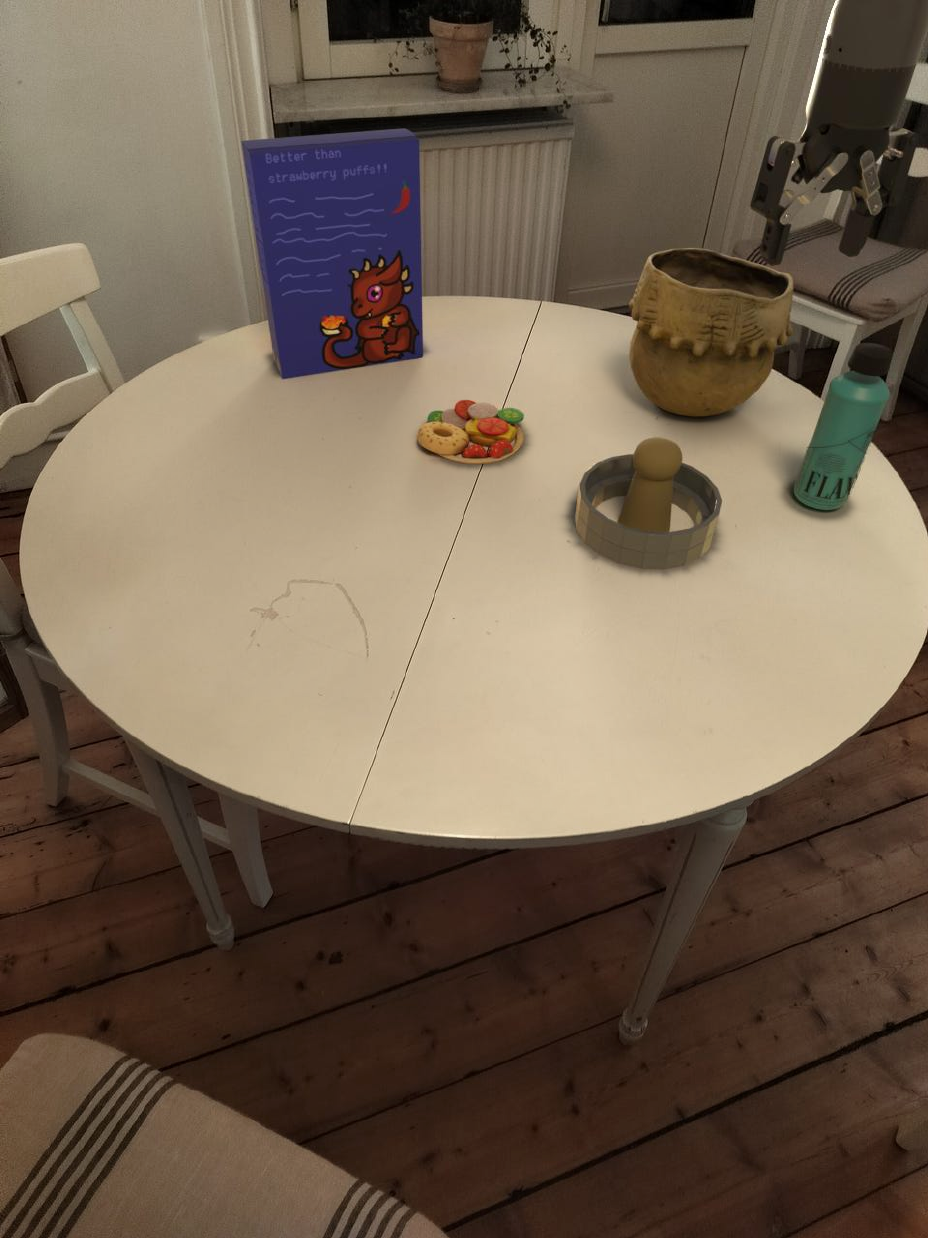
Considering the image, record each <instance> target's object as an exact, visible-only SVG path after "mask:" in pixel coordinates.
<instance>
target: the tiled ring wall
mask: <svg viewBox="0 0 928 1238" xmlns="http://www.w3.org/2000/svg"><path fill="white" fill-rule="evenodd" d="M633 455H634V453H629V454H622V455H621V454H620V455H615V456H611V457H609V458H605V459H603V460H601V461H598V462H595V463H594V464H593V465H592V466H590V467H589V468H588V469H587V470H586V471H585V472H584V473H583V475H582V478H581V479H580V482H579V484H578V492H577V500H576V501H577V502H576V507H575V514H574V522H575V530H576V533H578V536H579V537H580V538H581V541H582V542H583V544H585V545H586V546H587V547H589V548H590V549H591V550H592V551H594V552H595V553H596V554H597V555H599V556H600V557H603V558H605V559H606V560H609V561H612V562H614V563H616V564H618V565H622V566H627V567H629V568H630V567H631V568H634V569H635V568H636V569H640V570H660V571H662V570H670V569H675V568H681V567H684V566H687V565H689V564H691V563H693V562H695V561H697V560H699V559H701V558H702V557H703V555H705V553H706V552H707V551H708V550H709V549H710V547H711V545H712V541H713V538H714V534H715V531H716V528H717V524H718V520H719V516H720V513H721V508H722V504H723V499H722V497H721V493H720V490H719V487H718V486H717V485H716V484H715V483H714V482H713V481H712V480H711V478H709V476H707V475H706V474H704V473H703V472H701V470H698V468H695V467H694V466H692V465H690V464H687V463H684V462H682V464H681V467H680V469H679V471H678V473H677V474H675V475H674V479H673V493H672V505H675V506H676V507H678V508H679V509H681V510H682V511H684V512H685V513H686V514H687V516H689V518H691V520H692V521H693V523H694V526H692V527H689V528H685V529H679V530H673V531H669V532H653V531H644V530H640V529H635V528H631V527H627V526H624V525H622V524H620V523H618V521H615V520H613V519H611V518H608V517H607V516H606V515H605V514H603V513H601V512H600V510H598V509H597V507H598V506H600V505H601V504H602V503H604V502H607V501H609V500H611V499H614V498H619V497H625V496H626V497H627V494H628V491H629V488H630V485H631V482H632V480H633V477H634V474H635V471H636V469H635V468H634V463H633Z"/></svg>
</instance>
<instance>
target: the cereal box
mask: <svg viewBox="0 0 928 1238" xmlns="http://www.w3.org/2000/svg"><path fill="white" fill-rule="evenodd" d="M240 142H241V148H242V154H243V155H242V156H243V161H244V168H245V169H244V170H245V176H246V181H247V189H248V195H249V201H250V202H249V203H250V208H251V217H252V222H253V229H254V237H255V242H256V248H257V255H258V262H259V270H260V276H261V282H262V288H263V296H264V302H265V310H266V316H267V317H266V318H267V322H268V329H269V336H270V343H271V349H272V356H273V362H274V364H275V366H276V368H277V371H278V373H279V375H280V378H281V379H282V380H285V379H293V378H299V377H305V376H312V375H317V374H323V373H324V374H325V373H330V372H338V371H343V370H350V369H356V368H363V367H369V366H377V365H382V364H389V363H394V362H402V361H408V360H414V359H415V360H416V359H421V358H423V357H424V330H423V329H424V325H423V321H424V320H423V282H422V281H423V275H422V273H423V272H422V269H423V268H422V226H421V225H422V215H421V214H422V213H421V210H422V209H421V164H420V163H421V161H420V157H421V156H420V138H418V137H417V135H416V134H415V133H414V132H412V131H411V130H409V129H407V128H406V127H405V128H393V129H392V128H391V129H390V128H389V129H377V130H366V131H365V130H364V131H353V132H352V131H351V132H339V133H326V134H312V135H299V136H286V137H274V138H273V137H272V138H260V139H247V140H241V141H240Z"/></svg>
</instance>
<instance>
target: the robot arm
mask: <svg viewBox="0 0 928 1238" xmlns="http://www.w3.org/2000/svg"><path fill="white" fill-rule="evenodd" d="M927 33H928V0H835V1H834V4H833V6H832V9H831V12H830V14H829V18H828V21H827V25H826V28H825V32H824V37H823V40H822V43H821V44H822V45H821V48H820V53H819V57H818V61H817V64H816V68H815V72H814V75H813V80H812V83H811V88H810V91H809V95H808V99H807V103H806V106H805V107H806V108H805V116H806V123H805V124H806V125H805V128H804V130H803V132H802V134H801V135H800V137H799V138H798V139H784V138H783V137H780V136H777V135H773V136H771V137H770V138H769V140H768V141H767V142H766V143H767V144H766V147H765V150H764V154H763V158H762V161H761V165H760V167H759V172H758V175H757V179H756V183H755V186H754V190H753V193H752V197H751V200H750V205H749V207H750V209H751V210H752V211H753V212H755V213H757V214H759V215H760V216H762V217H764V218H766V219H765V220H766V221H765V225H764V229H763V230H764V231H763V234H762V239H761V243H760V246H759V254H760V256H761V259H762V261H763V262H765V263H766V264H768V265H769V266H770V267H774V266H780V265H781V264H782V261H783V258H784V254H785V251H786V247H787V243H788V239H789V235H790V232H791V228H792V224H791V221H792V220H793V219H794V218H795V216H796V215H797V214H798V213H799V212H800V211H801V210H802V208H804V206H806V205H809V204H810V203H812V202H813V201H814V199H815V198H817V196H818V195H819V194H829V193H832V192H834V191H837V190H839V191H842V192H849V193H850V196H851V199H852V203H853V205H854V207H855V208H853V209H849V213H848V215H847V219H846V223H845V226H844V228H843V232H842V235H841V239H840V242H839V245H838V251H839V252H840V253H841V254H843V255H845V256H846V257H848V258H853V257H854V258H855V257H858V256H860V253H861V250H863V248H864V247H865V245H866V243H867V240H868V237H869V234H870V232H871V228H872V225H873V222H874V219H875V216H876V215H878V214H879V213H881V211H882V209H884V208H886V207H888V206H890V207H895V206H897V205H898V204H899V203H900V201H901V199H902V196H903V193H904V189H905V187H906V183H907V180H908V176H909V172H910V169H911V166H912V163H913V159H914V155H915V153H916V149H917V147H918V143H919V139H920V138H919V134H918V133H916V132H913V131H911V130H908V129H906V128H903V127H900V126H894V127H893V128H892V129H891V128H890V127H892V126H893V125H895V124H896V123H897V122H899V121H898V120H899V119H900V116H901V113H902V110H903V106H904V104H905V101H906V98H907V95H908V91H909V88H910V86H911V82H912V79H913V76H914V74H915V70H916V67H917V65H918V64H917V63H918V60H919V58H920V54H921V51H922V49H923V45H924V42H925V39H926V36H927ZM890 129H891V130H890ZM880 158H881V161H880V163H879V164H880V165H879V168H878V172H877V169H876V163H877V162H878V161H879V159H880ZM796 159H797V164H796ZM791 168H793V169H792V170H791ZM790 170H791V171H790ZM802 181H804V183H805V185H800V183H801V182H802Z"/></svg>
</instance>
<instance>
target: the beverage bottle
mask: <svg viewBox="0 0 928 1238" xmlns="http://www.w3.org/2000/svg"><path fill="white" fill-rule="evenodd" d="M893 357H894V353H893V351H892V350H891V348H889V347H887V346H885V345H882V344H880V343H876V342H875V343H873V342H862V343H859V344H857V345H856V346H854V348H853V351H852V353H851V355H850V356H849V359H848V362H847V367H848V368H849V369H850V370H849V371H847V372H843V373H841V374H838V375H837V376H835V377H834V378H832V379H831V380H830V382H829V385H828V390H827V393H826V396H825V398H824V401H823V404H822V407H821V411H820V413H819V415H818V419H817V422H816V425H815V427H814V431H813V433H812V436H811V439H810V442H809V444H808V446H807V447H806V450H805V453H804V456H803V459H802V461H801V463H800V465H799V468H798V473H797V475H796V476H795V479H794V485H793V493H794V496H795V497H796V499H797V500H798V501H799V502H801V503H802V504H804V505H806V506H808V507H810V508H813V509H817V510H824V511H833V510H836V509H839V508H842V507H843V506H844V505H845V504H846V503H847V501H848V500H849V497H850V496H851V492H852V491H853V489H854V487H855V484H856V482H857V480H858V478H859V475H860V472H861V471H862V467H863V464H864V463H865V461H866V460H865V459H866V458H867V457H866V455H868V453H867V452H868V450H869V448H870V445H871V444H872V442H873V440H874V437H875V435H876V432H877V431H878V428H879V426H880V425H879V424H880V423H879V422H880V421H881V419H882V413H883V411H884V409H885V406H886V404H887V401H888V400H889V399H890V395H891V393H890V389H889V388H888V386H887V384H886V383H885V381H884V380H883V378H881V377H882V376H885V375H887V374H888V373H889V371H890V368H891V364H892V361H893Z"/></svg>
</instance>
